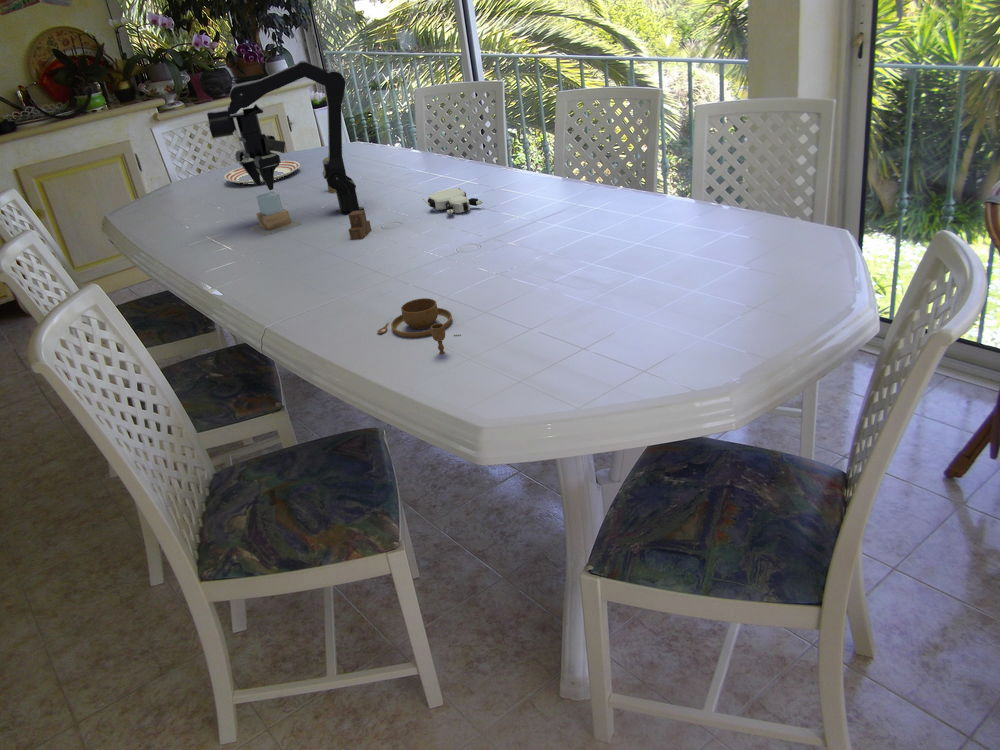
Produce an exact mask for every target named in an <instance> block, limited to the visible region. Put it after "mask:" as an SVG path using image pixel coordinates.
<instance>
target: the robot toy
mask: <svg viewBox="0 0 1000 750" xmlns="http://www.w3.org/2000/svg"><path fill="white" fill-rule="evenodd" d="M421 199H422V200H423V201H424V202H425V203H426V204H427V206H429V207H431V208H433V209H434V210H437V211H439V210H441V211H443V210H446V214H449V215H450V214H453V213H454V212H455V213H454V214H456V213H459V214H463V213H465V211H466V212H468V211H470V208H471V207H470V206H473V207H477V206H479V205H482V204H483V203H484V202H483V200H479V199H478V198H475V197H471V198H470V199H469V198H468V197H467V192H465V191H464V190H462V189H461V188H460V187H459V186H458V187H457V188H447V189H443V190H439V191H436V192H433V193H431V194H430V195H429V196H428V199H427V200H426V199H425V198H424V197H421ZM467 210H468V211H467ZM462 212H463V213H462Z"/></svg>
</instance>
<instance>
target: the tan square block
mask: <svg viewBox="0 0 1000 750" xmlns="http://www.w3.org/2000/svg"><path fill="white" fill-rule="evenodd" d="M256 218H257V223H258V224H259V226H260V227H262V228H264V229H266V230H269V231H270V230H273V229H277V228H280V227H283V226H286V225H290V224H291V220H292V219H291V216H290V213H289V210H287V209H284V208H283V211H282V212H278V213H275V214H272V215H268V216H267V215H264V214H262V213H261V212H257V213H256ZM290 219H291V220H290Z"/></svg>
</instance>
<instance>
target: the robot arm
mask: <svg viewBox="0 0 1000 750" xmlns="http://www.w3.org/2000/svg"><path fill="white" fill-rule="evenodd" d="M303 78H307V79H309V80H311V81H313V82H315V83H317V84H319V85H322V88H323V92H324V95H325V100H326V105H327V139H328V140H327V143H328V145H327V147H328V149H327V150H328V156H327V157H328V159H327V161H323V160H322V167H323V172H322V176H323V178H324V179H325V181H326V183H327V186H328V185H329V186H330V187H331V188H333V189H336V193H335V194H336V199H337V203H338V207H339V209H337V210H335V213H337V214H340V215H343V216H349V214H350V213H351V212H352V211H361V210H365V207H362V206H360V205H359V200H358V195H357V190H356V189H357V186H356V184H355V181H354V180H353V178H351V177H350V176H348V175H347V173H346V166H345V163H344V160H343V133H342V127H343V126H342V124H343V123H342V104H343V100H344V96H345V91H346V90H345V89H346V79H345V77H344V75H342V73H341V72H339V71H338V70H335V69H329V70H326V69H323V68H322V67H320V66H318V65H317V66H316V65H314V64H311V63H309V62H308V61H306V60H300V61H298V62H297V63H295V64H292V65H289V66H288V67H286V68H284V69H281V70H278V71H277V72H274V73H271V74H270V75H267V76H265V77H262V78H261V79H260V78H259V79H256V80H250V81H245V82H240V83H237V84H235V85H233V86H232V88H231V89H230V95H229V96H230V97H229V99H230V102H229V105H227V109H226V110H220V111H218V110H217V111H208V112H207V113H206V116H207V118H208V124H209V126H208V128H209V132H210V134H211V138H212V139H218V138H223V137H229V136H234V133H235V132H236V131H237V130H238V131H239V134H240V137H238V139H239V142H242V146H243V149H239V150H237V151H236V152H235V155H234V156H235V159H236V162H238V164H239V165H240V166H241V167H243V168H244V170H245V171H246V172H247V173H248V175H249V176H250V177H251V179H252V180H253V181H254V182H255V184H254V185H256V186H257V187H259V186H261V185H262V183H261V181H260V176H261V177H262V179H263V181H264V182H265V183H264V184H265V185H266V188H267V189H268V190H269V191H273V190H274V183H275V182H274V170H275V169H276V167H277V166H279V163H281V161H282V160H281V157H280V155H279V154H277V153H275V152H278V153H280V154H285V152H286V151H285V148H286V141H283V140H279V139H276V138H275V136H273V135H269V134H268V135H266V133H262V129H261V128H262V127H261V124H260V120H259V116H258V115H259V114H264V109H263V108H261V107H260V106H259V105H258V104H256V103H255V102H257V101H258V100H260V99H261V98H262V97H263V96H265V95H267V94H268V93H270V92H273V91H276V90H278V89H280V88H282V87H284V86H288V85H290V84H292V83H294V82H296V81H299V80H300V79H303ZM254 103H255V104H254ZM253 104H254V105H253ZM252 105H253V107H249V106H252ZM241 109H242V112H239V111H240V110H241ZM238 112H239V113H238ZM235 119H236V122H237V125H236V122H235ZM237 127H238V129H237Z"/></svg>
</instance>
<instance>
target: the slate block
mask: <svg viewBox="0 0 1000 750" xmlns="http://www.w3.org/2000/svg"><path fill="white" fill-rule="evenodd" d="M256 200H257V204H258V207H259V211H260V212H261V213H262V214H264V215H267V216H268V215H272V214H275V213H278V212H282V211H283V209H284V207H283V204H282V200H281V196H280V193H278V192H274V191H270V192H266V193H263V194H259V195H256ZM260 212H259V213H260Z"/></svg>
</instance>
